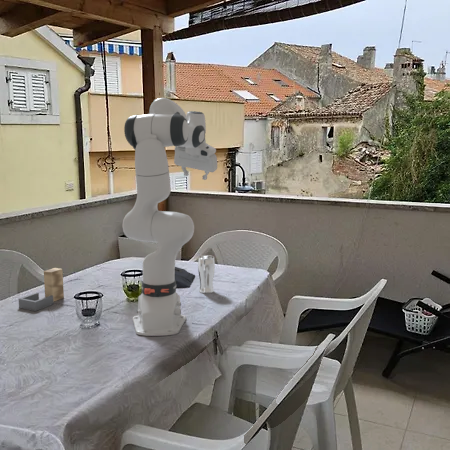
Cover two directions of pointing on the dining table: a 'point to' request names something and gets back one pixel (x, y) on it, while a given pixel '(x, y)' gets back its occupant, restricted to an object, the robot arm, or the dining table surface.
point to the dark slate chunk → (183, 278)
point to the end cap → (35, 302)
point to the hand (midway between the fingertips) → (195, 177)
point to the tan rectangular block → (54, 283)
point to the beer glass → (206, 273)
